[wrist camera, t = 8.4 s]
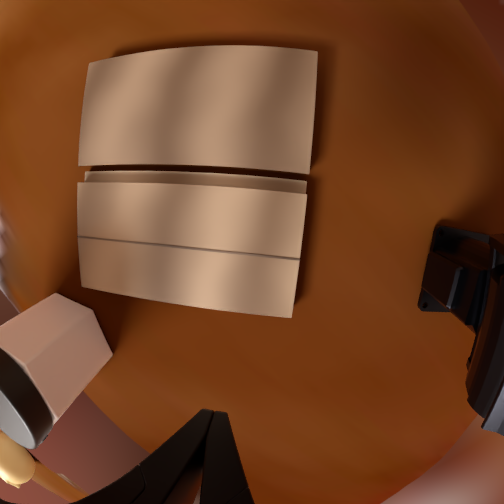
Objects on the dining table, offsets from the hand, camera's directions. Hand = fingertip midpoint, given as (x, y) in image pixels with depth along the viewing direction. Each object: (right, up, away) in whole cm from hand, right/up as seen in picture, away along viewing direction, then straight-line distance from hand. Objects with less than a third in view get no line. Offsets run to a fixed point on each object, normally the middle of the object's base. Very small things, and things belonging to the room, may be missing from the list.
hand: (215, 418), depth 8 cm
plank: (-3, +15, +8) cm, 18 cm away
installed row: (-4, +6, +11) cm, 13 cm away
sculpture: (-47, -35, +25) cm, 64 cm away
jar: (-15, -2, +14) cm, 21 cm away
